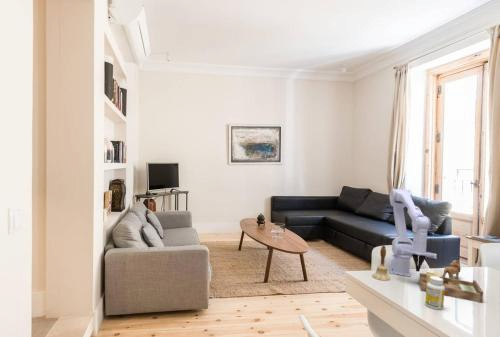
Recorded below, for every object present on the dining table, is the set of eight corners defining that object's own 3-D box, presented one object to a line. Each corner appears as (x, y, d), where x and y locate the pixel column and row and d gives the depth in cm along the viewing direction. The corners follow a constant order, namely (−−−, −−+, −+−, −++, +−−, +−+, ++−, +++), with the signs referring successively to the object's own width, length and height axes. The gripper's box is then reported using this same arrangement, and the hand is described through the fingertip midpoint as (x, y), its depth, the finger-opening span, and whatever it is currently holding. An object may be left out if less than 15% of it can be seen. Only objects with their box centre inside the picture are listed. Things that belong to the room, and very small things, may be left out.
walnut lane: (420, 290, 148) (421, 280, 148) (419, 279, 163) (419, 270, 162) (482, 302, 138) (483, 292, 138) (474, 290, 153) (475, 280, 153)
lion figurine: (450, 275, 173) (451, 258, 173) (461, 278, 169) (463, 261, 169) (439, 280, 163) (440, 262, 163) (451, 284, 159) (452, 265, 159)
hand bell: (393, 281, 158) (395, 248, 158) (375, 280, 158) (378, 247, 158) (386, 275, 166) (388, 244, 166) (370, 274, 167) (372, 243, 166)
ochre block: (426, 283, 152) (427, 275, 152) (426, 280, 156) (426, 272, 156) (439, 286, 150) (439, 277, 150) (438, 282, 154) (438, 274, 154)
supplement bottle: (431, 309, 128) (433, 280, 128) (421, 302, 135) (423, 275, 134) (447, 310, 129) (449, 281, 129) (436, 302, 135) (438, 275, 135)
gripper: (402, 241, 155) (400, 270, 155) (438, 246, 149) (435, 276, 149) (402, 238, 161) (400, 266, 161) (436, 243, 155) (434, 272, 155)
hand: (417, 270), depth 156 cm, fingers closed
